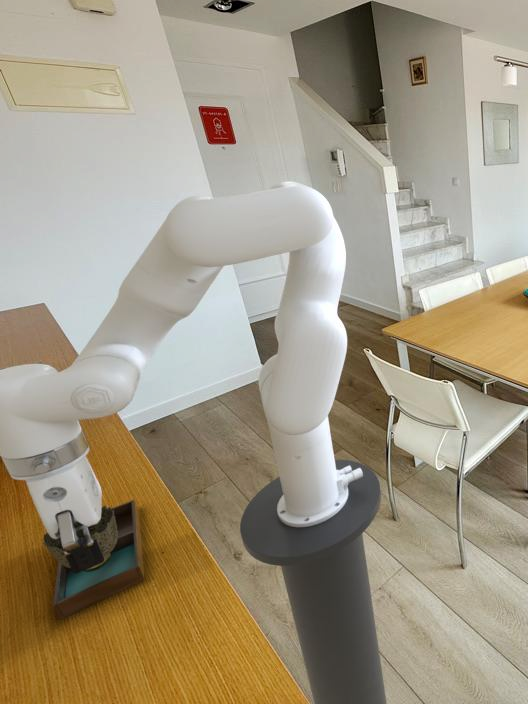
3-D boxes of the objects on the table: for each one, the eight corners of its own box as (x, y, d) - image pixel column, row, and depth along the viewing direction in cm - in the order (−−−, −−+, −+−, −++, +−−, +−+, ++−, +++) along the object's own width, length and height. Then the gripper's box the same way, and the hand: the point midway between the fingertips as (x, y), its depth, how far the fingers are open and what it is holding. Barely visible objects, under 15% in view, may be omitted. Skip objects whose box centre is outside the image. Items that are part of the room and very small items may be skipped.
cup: (89, 591, 60) (70, 550, 57) (48, 581, 61) (27, 541, 58) (141, 547, 67) (126, 509, 64) (103, 539, 68) (87, 501, 65)
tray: (139, 512, 77) (134, 499, 76) (144, 580, 65) (138, 566, 64) (69, 539, 71) (62, 526, 70) (60, 620, 59) (52, 605, 58)
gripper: (83, 473, 53) (125, 573, 59) (88, 415, 65) (122, 503, 71) (-7, 502, 48) (49, 608, 54) (16, 433, 60) (60, 526, 66)
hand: (90, 547), depth 63 cm, fingers closed on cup, 7 cm apart
